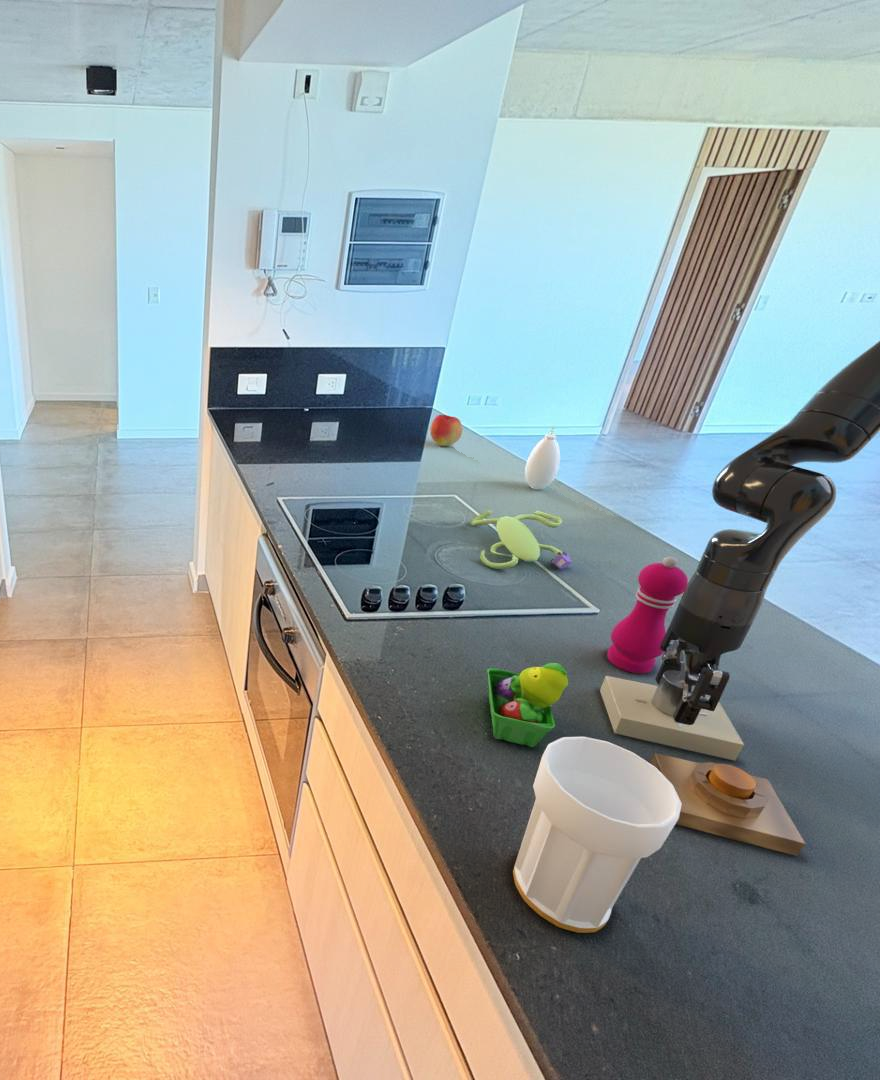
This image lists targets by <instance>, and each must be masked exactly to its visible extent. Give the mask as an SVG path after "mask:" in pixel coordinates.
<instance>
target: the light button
mask: <svg viewBox="0 0 880 1080" xmlns="http://www.w3.org/2000/svg"><path fill="white" fill-rule="evenodd" d="M750 775H751V774H750V773H748V772H746V771H745V770H743V769H741V768H739V767H737V766H735V765H731V764H728V763H717V765H715V766H714V767H713V769H712V771H711V773H710V774H709V776H708V780H709V782H710V784H711V785H713V786H714V787H715V788H716V789H717V790H718V791H720V792H722V793H724V794H726V795H728V796H730V797H734V798H738V799H742V800H743V799H748V798H749V797H750V796H751V794H752V792H753V791H754V789H755V787H756V782H755V781H754V779H753V778H752V777H751V776H750Z"/></svg>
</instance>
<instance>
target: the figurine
mask: <svg viewBox="0 0 880 1080" xmlns="http://www.w3.org/2000/svg"><path fill="white" fill-rule="evenodd" d="M492 512H493V511H492V510H490V509H489V510H486V511H484V512H482V513H480V514H478V515H477V516H475V517H474V518H473V519H472V520H471V521H470V522H469V524H470V525H471V526H473V527H477V526H481V525H482V526H483V525H490V524H496V531H497V535H498V537H499V539H500V540H501V541H499V542H496V543H494V544H492V545H491V547H490V550H489V551H490V552H491V554H493V555H497V556H503V557H509V558H511V560H510V561H507V562H501V563H500V562H499V563H498V562H491V561H490V560H488V558H486V556H485V554H486V550H485V549H483V550H481V552H480V555H479V556H480V560H481V562H482V563H483V564H484V565H485V566H486V567H488V568H490V569H494V570H495V569H496V570H505V569H509V568H511V567H514V566H516V565H517V564H518V563H519V560H522V561H525V562H526V563H531V562H537V560H539V558H540V556H541V550H547V551H549V552H552V553H554V554H555V555H556V556H555V558H552V559H551V560H550V562H551V563H552V564H554V565H555V566H556V567H557V568H558V569H559V570H561V569H566V568H567V567H568V566H569V565H571V563H573V561H572V560H571V557H570V556H569V554H567V552H565V551H562V550H560V549H558V548H556V547H555V546H553V545H549V544H543V543H539V542H538V540H537V538H536V537H535V535H534V534H533V532H532V531H531V530H530V529H529V528H528V527H527V525H525V524H524V523H523V522H522V521H523V520H531V521H532V520H533V521H537V522H540V523H542V524H543V525H545V526H547V527H549V528H552V529H554V528H555V529H556V528H558V527H560V526H561V525H562V523H563V519H562V518H561V517H559V516H556V515H553V514H549V513H546V512H542V511H540V510H535V511H534V513H533V514H528V513H525V514H524V513H523V514H518V515H515V516H513V517H511V516H509V515H508V516H507V515H505V516H501V517H499V518H497V517H495V518H487V517H489V516H491V515H492V514H493V513H492ZM550 520H551V521H550ZM502 547H505V548H506V549H507V550H508V551H509V552H510V553H511V554H506V553H500V552H497V550H498V549H499V548H502Z"/></svg>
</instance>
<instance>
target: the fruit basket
mask: <svg viewBox="0 0 880 1080" xmlns="http://www.w3.org/2000/svg"><path fill="white" fill-rule="evenodd" d="M486 673H487V681H488V701H489V706H490V709H489V710H490V715H491V723H492V729H493V730H492V732H493V737H494V739H495V740H504V741H505V742H509V743H513V744H517V745H522V746H525V745H526V746H528V747H530V748H535V747H536V746H537V745H538V743H540V741H541V740H543V738H544V737H545V736H546V735H547V733H548V732H551V731H552V730H553V729H554V728H555V726H556V724H555V719H554V716H553V712H552V708H551V706H552V705H554V704H556V703H557V702H558V701H559V700H560V698H561V696H562V694H563V691H564V690H565V689H566V688H567V686H568V684H569V678H568V671H567V670H566V669H565V668H564V666H562V664H560V663H558V662H549V663H547V664H545V665H544V664H543V665H542V666H531V667H527V668H525V669H523V670H522V671H521V672H520V673H518V672H514V671H509V670H505V669H500V668H493V667H492V668H491V667H490V668H488V669H487V672H486Z"/></svg>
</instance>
